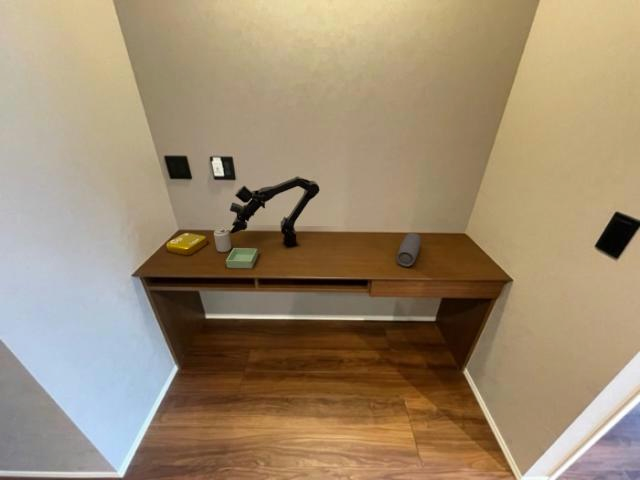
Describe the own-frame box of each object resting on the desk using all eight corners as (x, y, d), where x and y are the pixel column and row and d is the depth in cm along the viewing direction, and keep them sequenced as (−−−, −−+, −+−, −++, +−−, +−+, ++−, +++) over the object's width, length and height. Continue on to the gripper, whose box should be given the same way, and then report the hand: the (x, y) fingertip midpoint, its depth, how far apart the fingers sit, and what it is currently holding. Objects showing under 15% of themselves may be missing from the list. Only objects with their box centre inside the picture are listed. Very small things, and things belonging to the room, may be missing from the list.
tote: (257, 255, 138) (257, 248, 136) (252, 268, 127) (251, 261, 125) (234, 254, 138) (233, 248, 136) (227, 267, 127) (225, 260, 125)
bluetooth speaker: (402, 245, 149) (405, 230, 144) (419, 249, 145) (423, 233, 140) (393, 265, 130) (397, 248, 126) (413, 270, 127) (417, 253, 122)
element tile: (189, 256, 136) (186, 248, 133) (166, 251, 140) (163, 243, 138) (208, 243, 148) (207, 235, 146) (187, 238, 152) (185, 231, 150)
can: (227, 253, 138) (223, 233, 133) (214, 252, 139) (210, 232, 134) (234, 247, 145) (230, 227, 139) (221, 245, 146) (218, 226, 140)
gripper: (239, 192, 138) (221, 212, 142) (236, 204, 122) (215, 227, 126) (256, 205, 144) (238, 225, 147) (255, 219, 127) (235, 240, 131)
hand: (231, 229), depth 137 cm, fingers open, 9 cm apart
